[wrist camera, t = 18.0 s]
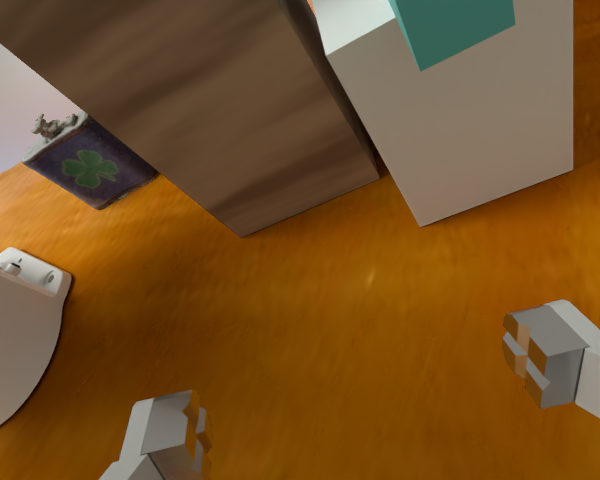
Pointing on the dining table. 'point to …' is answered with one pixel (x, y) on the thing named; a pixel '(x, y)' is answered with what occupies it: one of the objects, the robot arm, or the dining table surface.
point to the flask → (87, 160)
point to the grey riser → (459, 103)
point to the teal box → (449, 25)
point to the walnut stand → (206, 96)
